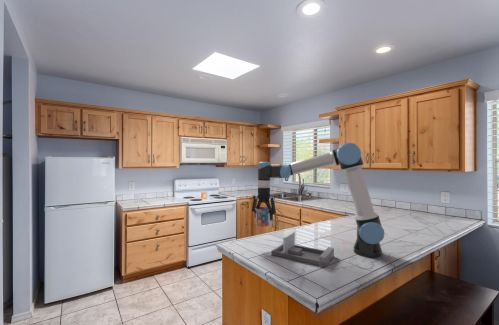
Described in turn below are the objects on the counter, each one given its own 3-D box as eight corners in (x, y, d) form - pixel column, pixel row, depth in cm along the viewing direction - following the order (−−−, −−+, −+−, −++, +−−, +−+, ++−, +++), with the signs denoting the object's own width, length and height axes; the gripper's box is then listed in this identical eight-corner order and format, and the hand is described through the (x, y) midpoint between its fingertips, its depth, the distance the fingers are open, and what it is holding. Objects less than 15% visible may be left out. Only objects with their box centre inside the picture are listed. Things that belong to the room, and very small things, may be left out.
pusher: (304, 250, 149) (304, 233, 149) (295, 258, 137) (295, 239, 137) (292, 248, 153) (293, 231, 152) (283, 255, 141) (283, 237, 141)
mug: (259, 228, 148) (259, 210, 148) (251, 224, 156) (252, 207, 156) (276, 226, 154) (276, 208, 154) (268, 222, 162) (268, 206, 162)
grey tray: (333, 256, 142) (333, 247, 142) (325, 267, 127) (325, 257, 127) (284, 246, 157) (284, 238, 157) (271, 255, 143) (271, 246, 143)
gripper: (282, 187, 153) (281, 225, 153) (252, 185, 164) (251, 220, 164) (276, 188, 146) (276, 228, 147) (246, 186, 158) (245, 223, 158)
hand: (263, 224), depth 155 cm, fingers closed on mug, 8 cm apart
